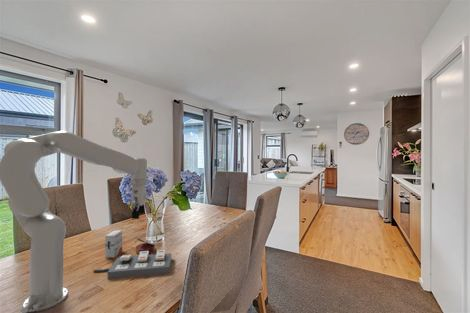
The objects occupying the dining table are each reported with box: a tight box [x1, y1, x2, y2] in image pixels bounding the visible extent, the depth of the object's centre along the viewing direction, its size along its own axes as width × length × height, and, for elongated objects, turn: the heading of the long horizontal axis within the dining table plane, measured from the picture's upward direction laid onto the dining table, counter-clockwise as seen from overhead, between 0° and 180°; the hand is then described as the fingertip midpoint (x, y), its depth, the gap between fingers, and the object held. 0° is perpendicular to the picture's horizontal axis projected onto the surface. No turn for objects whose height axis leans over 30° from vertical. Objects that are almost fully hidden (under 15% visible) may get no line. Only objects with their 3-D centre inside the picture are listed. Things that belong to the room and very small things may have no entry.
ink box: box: [104, 229, 123, 259], centre depth 118 cm, size 8×5×12 cm, turn 0°
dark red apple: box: [135, 237, 156, 256], centre depth 123 cm, size 11×10×10 cm
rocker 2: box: [138, 251, 150, 262], centre depth 106 cm, size 6×4×1 cm, turn 12°
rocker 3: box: [155, 249, 166, 260], centre depth 108 cm, size 6×4×1 cm, turn 12°
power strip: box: [93, 252, 172, 280], centre depth 104 cm, size 14×34×3 cm, turn 102°
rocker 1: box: [119, 254, 133, 261], centre depth 105 cm, size 6×4×1 cm, turn 13°
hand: (138, 215), depth 111 cm, fingers open, 9 cm apart
